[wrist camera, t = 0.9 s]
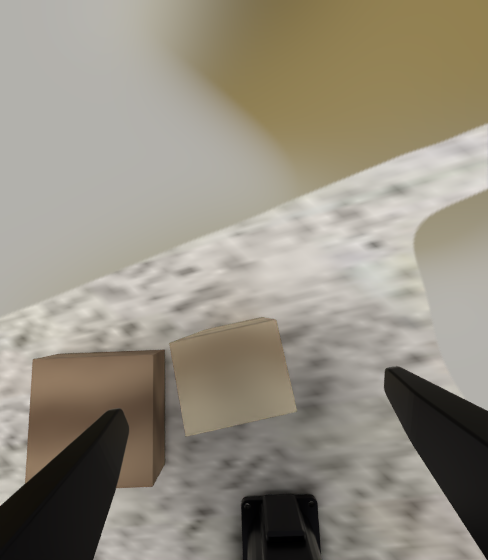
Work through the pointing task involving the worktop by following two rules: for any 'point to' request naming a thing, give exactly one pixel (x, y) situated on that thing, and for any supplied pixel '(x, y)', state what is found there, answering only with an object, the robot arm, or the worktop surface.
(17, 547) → the robot arm
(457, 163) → the worktop surface
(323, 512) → the worktop surface
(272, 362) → the ash block
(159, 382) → the walnut block
